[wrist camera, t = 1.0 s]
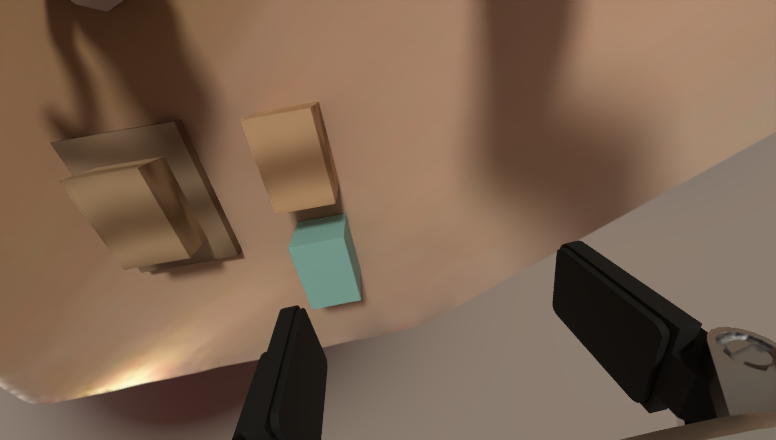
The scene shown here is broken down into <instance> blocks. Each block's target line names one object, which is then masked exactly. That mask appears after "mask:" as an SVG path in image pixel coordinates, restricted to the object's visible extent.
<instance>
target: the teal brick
mask: <svg viewBox="0 0 776 440" xmlns="http://www.w3.org/2000/svg"><path fill="white" fill-rule="evenodd" d="M288 250H289V252H290V255H291V257H292V260H293V263H294V265H295V268H296V270H297V273H298V275H299V278H300V280H301V283H302V285H303V288H304V290H305V293H306V296H307V298H308V301H309V303H310V306H311V308H312V309H318V308H323V307H328V306H333V305H338V304H344V303H349V302H354V301H359V300H361V270H360V266H359V262H358V259H357V255H356V251H355V247H354V243H353V239H352V236H351V232H350V228H349V224H348V220H347V216H346V213H344V214H339V215H334V216H328V217H323V218H318V219H312V220H307V221H302V222H298V223H297V226H296V229H295V231H294V234H293V236H292V239H291V241H290V244H289V246H288Z"/></svg>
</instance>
